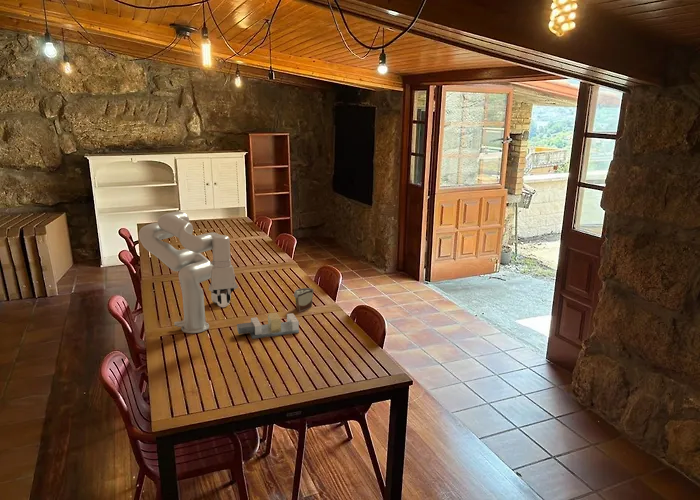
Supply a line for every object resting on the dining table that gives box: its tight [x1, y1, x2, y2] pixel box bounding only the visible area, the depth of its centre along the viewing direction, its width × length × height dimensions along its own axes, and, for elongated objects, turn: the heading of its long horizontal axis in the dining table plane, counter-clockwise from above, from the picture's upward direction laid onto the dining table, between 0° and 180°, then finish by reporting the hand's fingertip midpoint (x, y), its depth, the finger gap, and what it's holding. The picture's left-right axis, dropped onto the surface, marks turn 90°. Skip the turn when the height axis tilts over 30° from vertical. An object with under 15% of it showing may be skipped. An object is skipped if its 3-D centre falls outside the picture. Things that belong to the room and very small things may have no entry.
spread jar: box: [210, 289, 232, 308], centre depth 267 cm, size 12×11×12 cm
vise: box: [249, 312, 300, 340], centre depth 234 cm, size 22×11×6 cm, turn 110°
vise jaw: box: [236, 316, 262, 335], centre depth 230 cm, size 10×11×4 cm
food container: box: [293, 287, 314, 313], centre depth 263 cm, size 12×6×10 cm, turn 141°
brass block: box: [267, 312, 282, 332], centre depth 234 cm, size 4×8×6 cm, turn 21°
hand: (224, 302), depth 223 cm, fingers open, 2 cm apart
